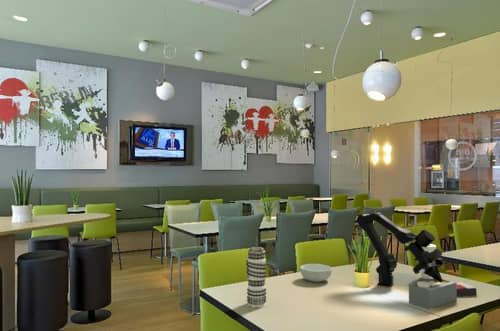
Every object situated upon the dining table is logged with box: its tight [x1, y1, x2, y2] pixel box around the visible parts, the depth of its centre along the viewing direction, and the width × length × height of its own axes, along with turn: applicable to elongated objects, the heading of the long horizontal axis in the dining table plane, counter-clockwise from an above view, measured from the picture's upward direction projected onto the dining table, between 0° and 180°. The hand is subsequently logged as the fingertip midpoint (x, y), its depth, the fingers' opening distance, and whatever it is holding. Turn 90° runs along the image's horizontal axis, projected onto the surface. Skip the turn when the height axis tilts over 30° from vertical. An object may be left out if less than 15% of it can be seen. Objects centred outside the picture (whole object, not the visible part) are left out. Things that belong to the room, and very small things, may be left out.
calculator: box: [455, 281, 478, 297], centre depth 189 cm, size 11×4×15 cm
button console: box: [408, 278, 458, 310], centre depth 176 cm, size 10×21×8 cm, turn 123°
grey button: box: [416, 280, 430, 289], centre depth 172 cm, size 5×5×3 cm
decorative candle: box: [245, 246, 268, 308], centre depth 173 cm, size 9×9×25 cm
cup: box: [419, 243, 437, 280], centre depth 216 cm, size 11×11×18 cm
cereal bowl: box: [299, 263, 333, 283], centre depth 212 cm, size 17×17×7 cm
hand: (441, 281), depth 180 cm, fingers closed, pressing on orange button
